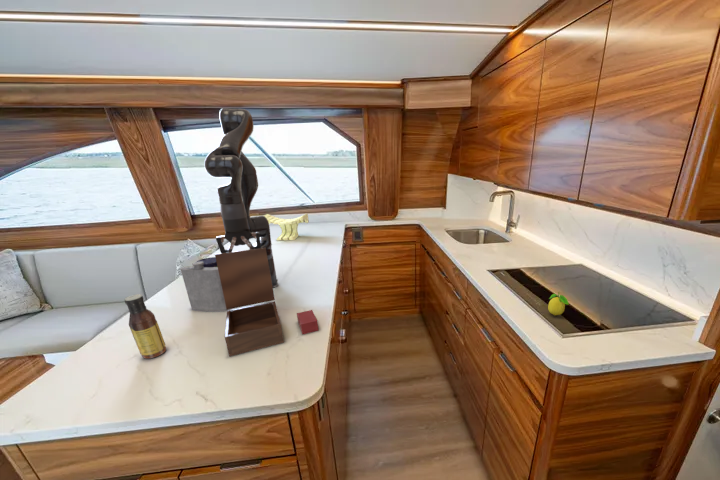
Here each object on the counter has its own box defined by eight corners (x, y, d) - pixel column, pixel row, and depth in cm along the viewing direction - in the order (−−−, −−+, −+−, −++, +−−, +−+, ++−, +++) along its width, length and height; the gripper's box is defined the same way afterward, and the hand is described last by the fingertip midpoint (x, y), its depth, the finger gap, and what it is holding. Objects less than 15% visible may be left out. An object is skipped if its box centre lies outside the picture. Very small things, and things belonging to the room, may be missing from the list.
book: (318, 330, 104) (317, 320, 103) (302, 334, 102) (300, 324, 100) (313, 319, 111) (312, 309, 110) (298, 322, 109) (296, 313, 108)
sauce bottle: (151, 348, 95) (131, 292, 88) (171, 347, 96) (153, 291, 89) (136, 361, 89) (113, 301, 82) (158, 359, 90) (137, 300, 83)
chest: (283, 342, 97) (280, 324, 95) (229, 356, 91) (224, 337, 88) (277, 317, 113) (275, 301, 111) (231, 327, 106) (226, 310, 104)
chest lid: (265, 247, 106) (265, 246, 111) (214, 254, 100) (216, 252, 104) (274, 300, 110) (274, 297, 115) (226, 309, 104) (227, 306, 108)
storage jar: (233, 289, 139) (226, 258, 134) (213, 297, 130) (205, 265, 125) (219, 285, 143) (211, 256, 138) (198, 293, 134) (190, 262, 129)
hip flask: (231, 307, 121) (221, 261, 115) (225, 312, 117) (213, 264, 111) (195, 306, 123) (183, 260, 116) (188, 310, 119) (174, 263, 112)
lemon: (565, 321, 107) (570, 296, 104) (547, 318, 109) (551, 294, 106) (562, 312, 113) (567, 289, 110) (545, 310, 115) (549, 286, 112)
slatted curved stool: (310, 234, 239) (307, 212, 233) (305, 239, 224) (302, 216, 218) (272, 235, 237) (268, 213, 231) (264, 240, 222) (260, 217, 216)
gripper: (256, 213, 109) (264, 256, 114) (211, 216, 102) (221, 262, 108) (257, 216, 102) (265, 262, 108) (209, 220, 96) (220, 268, 102)
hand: (243, 262), depth 108 cm, fingers open, 6 cm apart
